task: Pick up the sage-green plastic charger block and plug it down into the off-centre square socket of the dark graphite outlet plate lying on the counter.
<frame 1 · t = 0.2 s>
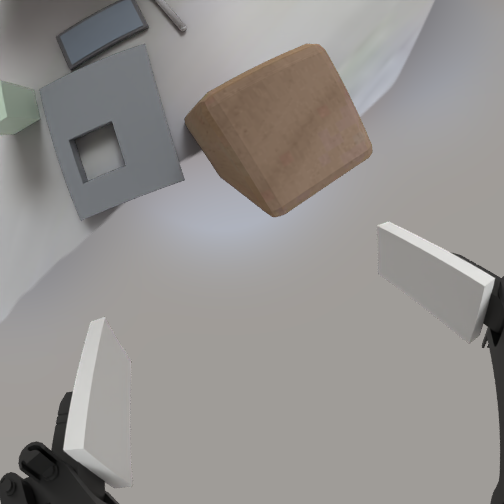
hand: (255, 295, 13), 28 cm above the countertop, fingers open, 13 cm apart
charger: (23, 111, 27), on the countertop
block: (234, 129, 36), on the countertop
phone: (101, 31, 26), on the countertop
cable: (158, 0, 26), on the countertop
outlet plate: (110, 130, 32), on the countertop
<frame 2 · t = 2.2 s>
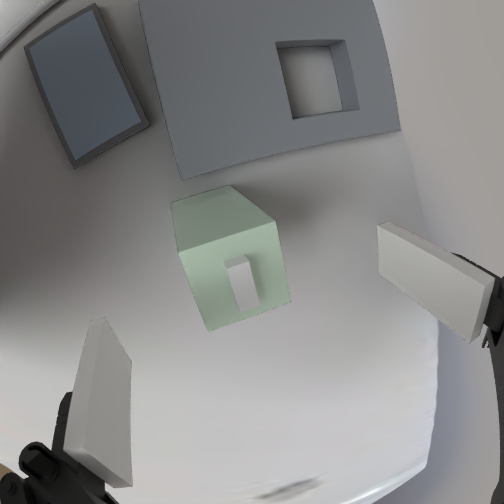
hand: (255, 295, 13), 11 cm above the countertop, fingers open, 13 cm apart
charger: (207, 221, 22), on the countertop
phone: (82, 82, 16), on the countertop
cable: (46, 8, 12), on the countertop
outlet plate: (276, 59, 19), on the countertop
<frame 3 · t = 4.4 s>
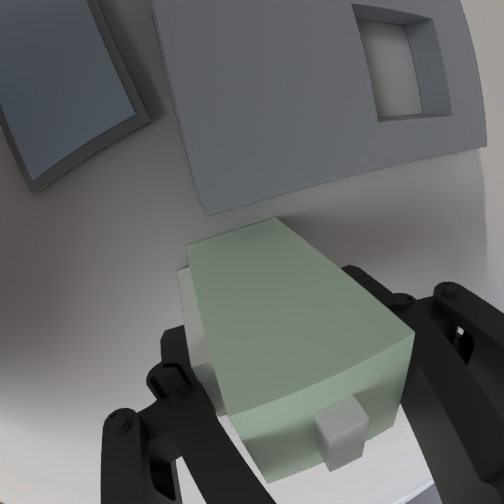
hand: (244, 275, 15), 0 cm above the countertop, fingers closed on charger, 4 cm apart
charger: (242, 272, 15), on the countertop, touching gripper
phone: (47, 56, 8), on the countertop
outlet plate: (343, 32, 12), on the countertop
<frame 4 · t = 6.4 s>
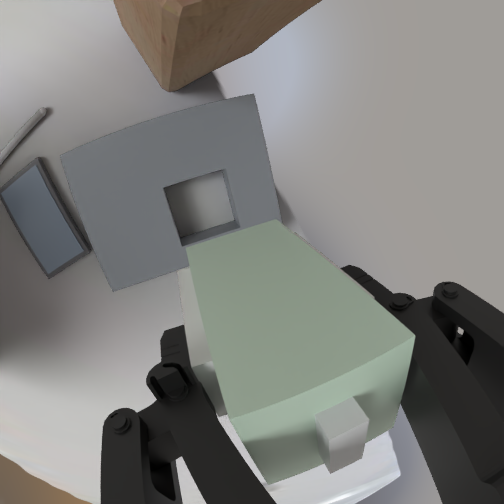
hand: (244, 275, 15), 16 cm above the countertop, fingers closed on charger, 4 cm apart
charger: (242, 273, 15), point 16 cm above the countertop, touching gripper
block: (188, 33, 22), on the countertop
phone: (42, 219, 24), on the countertop
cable: (5, 154, 21), on the countertop
outlet plate: (174, 189, 28), on the countertop
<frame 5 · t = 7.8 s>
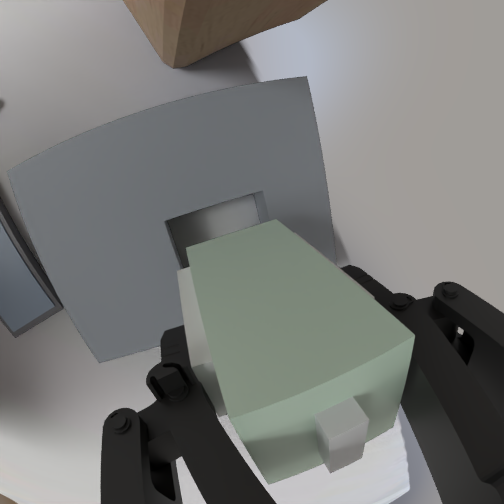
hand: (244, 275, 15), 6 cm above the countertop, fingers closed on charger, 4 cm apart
charger: (242, 273, 15), point 5 cm above the countertop, touching gripper
outlet plate: (181, 219, 19), on the countertop
when the fingers open (3 cm above the countertop, at t = 8.9 s): charger drops 3 cm, resting in outlet plate.
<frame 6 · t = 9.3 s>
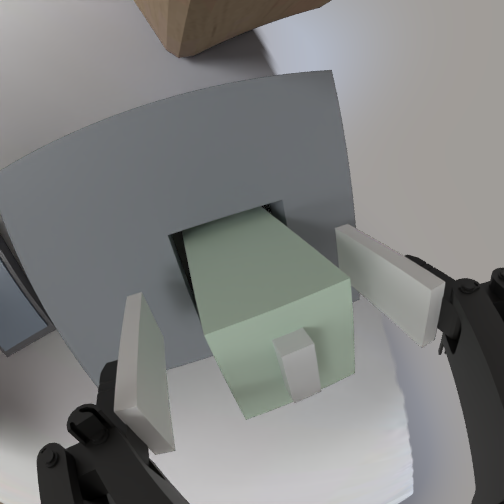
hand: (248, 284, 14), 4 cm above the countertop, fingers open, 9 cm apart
charger: (230, 251, 18), resting in outlet plate
outlet plate: (187, 231, 16), on the countertop
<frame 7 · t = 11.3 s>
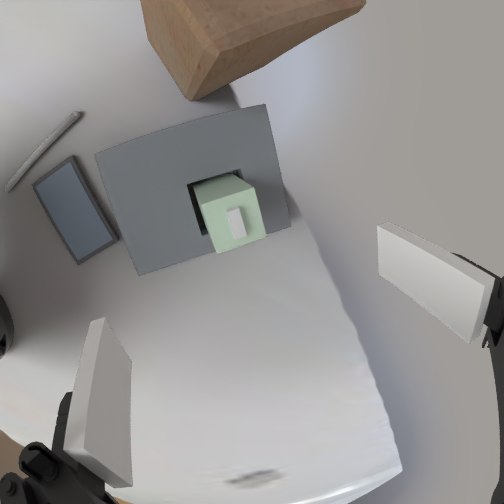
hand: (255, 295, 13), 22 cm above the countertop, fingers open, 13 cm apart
charger: (217, 198, 33), resting in outlet plate
block: (206, 48, 27), on the countertop
phone: (74, 210, 29), on the countertop
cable: (39, 152, 25), on the countertop
outlet plate: (195, 186, 32), on the countertop
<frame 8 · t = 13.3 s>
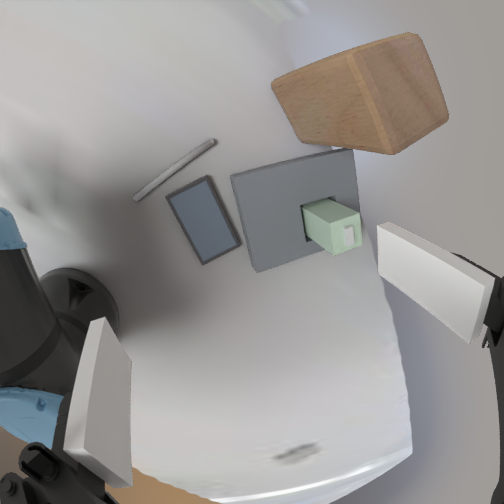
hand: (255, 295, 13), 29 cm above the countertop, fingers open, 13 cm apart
charger: (313, 214, 45), resting in outlet plate
block: (310, 100, 38), on the countertop
phone: (203, 220, 41), on the countertop
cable: (172, 169, 37), on the countertop
outlet plate: (299, 205, 44), on the countertop
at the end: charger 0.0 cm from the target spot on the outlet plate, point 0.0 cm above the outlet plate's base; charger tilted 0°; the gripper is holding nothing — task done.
